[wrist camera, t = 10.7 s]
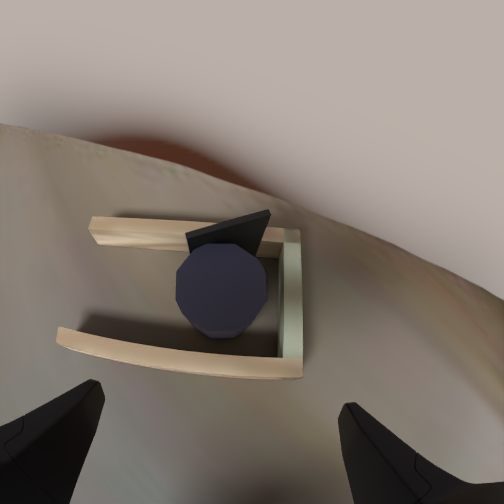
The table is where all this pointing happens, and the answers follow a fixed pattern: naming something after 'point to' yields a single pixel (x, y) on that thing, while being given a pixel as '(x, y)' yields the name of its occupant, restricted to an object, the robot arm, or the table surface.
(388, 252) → the table surface
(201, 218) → the table surface
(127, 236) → the channel
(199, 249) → the dark cylinder with backplate
